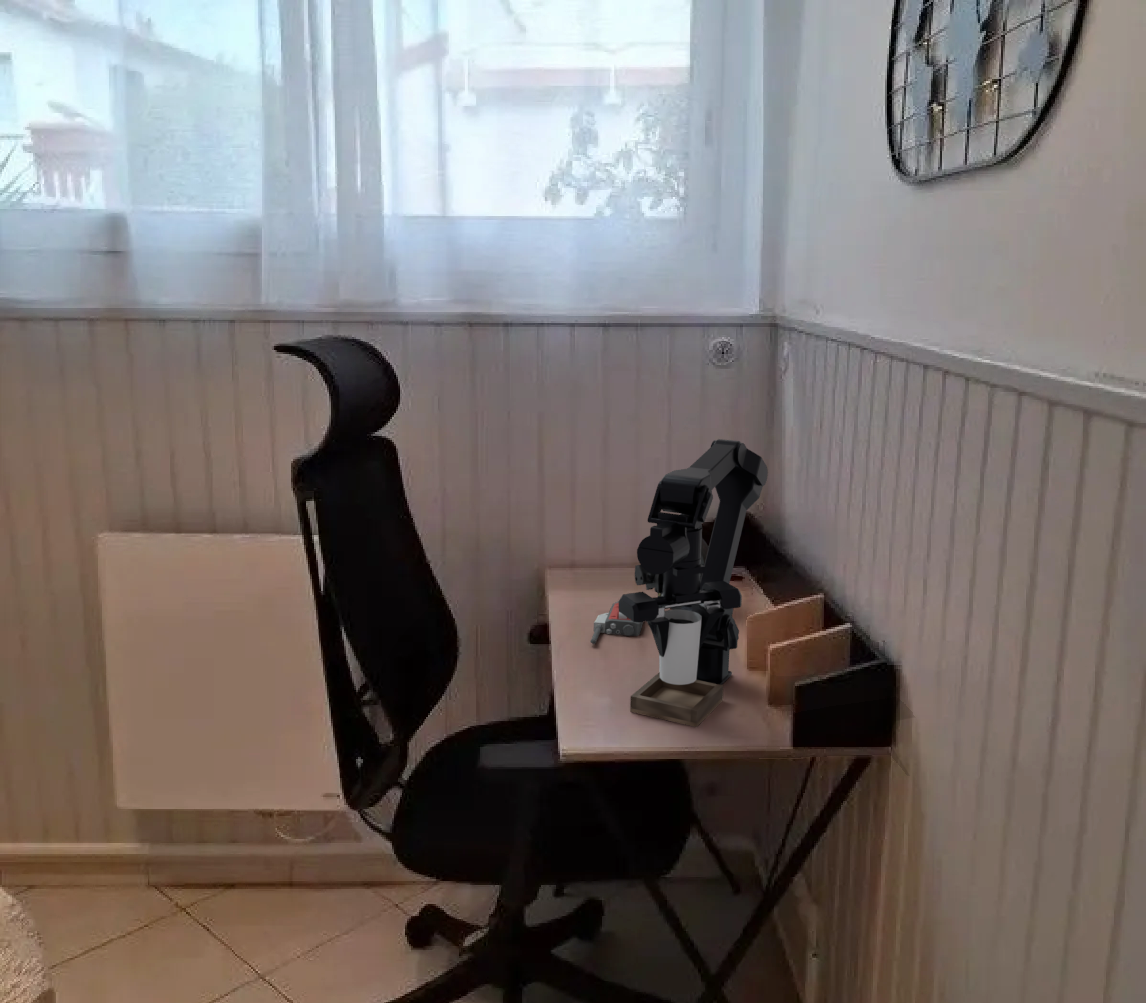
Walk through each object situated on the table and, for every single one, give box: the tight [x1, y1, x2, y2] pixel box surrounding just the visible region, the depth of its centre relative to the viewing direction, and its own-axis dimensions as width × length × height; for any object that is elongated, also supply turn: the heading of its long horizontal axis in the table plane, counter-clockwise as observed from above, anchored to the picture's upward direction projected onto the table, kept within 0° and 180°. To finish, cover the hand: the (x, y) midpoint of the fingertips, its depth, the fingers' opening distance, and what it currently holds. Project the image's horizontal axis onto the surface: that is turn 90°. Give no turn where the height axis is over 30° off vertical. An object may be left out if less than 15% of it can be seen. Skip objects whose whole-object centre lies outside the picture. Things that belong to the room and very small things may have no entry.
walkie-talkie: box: [589, 600, 644, 645], centre depth 197 cm, size 9×4×20 cm
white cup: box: [658, 609, 702, 685], centre depth 162 cm, size 7×7×10 cm
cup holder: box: [629, 671, 724, 728], centre depth 164 cm, size 11×11×3 cm
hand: (679, 653), depth 163 cm, fingers closed on white cup, 6 cm apart
